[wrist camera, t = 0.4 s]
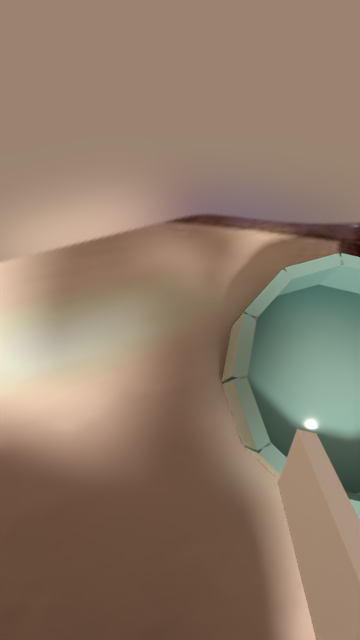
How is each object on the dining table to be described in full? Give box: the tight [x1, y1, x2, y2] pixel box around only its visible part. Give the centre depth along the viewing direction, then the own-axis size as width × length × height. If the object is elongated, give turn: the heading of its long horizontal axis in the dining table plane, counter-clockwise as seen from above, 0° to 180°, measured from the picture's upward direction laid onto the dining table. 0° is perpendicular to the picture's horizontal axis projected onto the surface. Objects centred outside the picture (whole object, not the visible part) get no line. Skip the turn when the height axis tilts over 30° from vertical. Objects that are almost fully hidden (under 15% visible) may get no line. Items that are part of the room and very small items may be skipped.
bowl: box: [222, 253, 360, 520], centre depth 27 cm, size 21×21×5 cm
